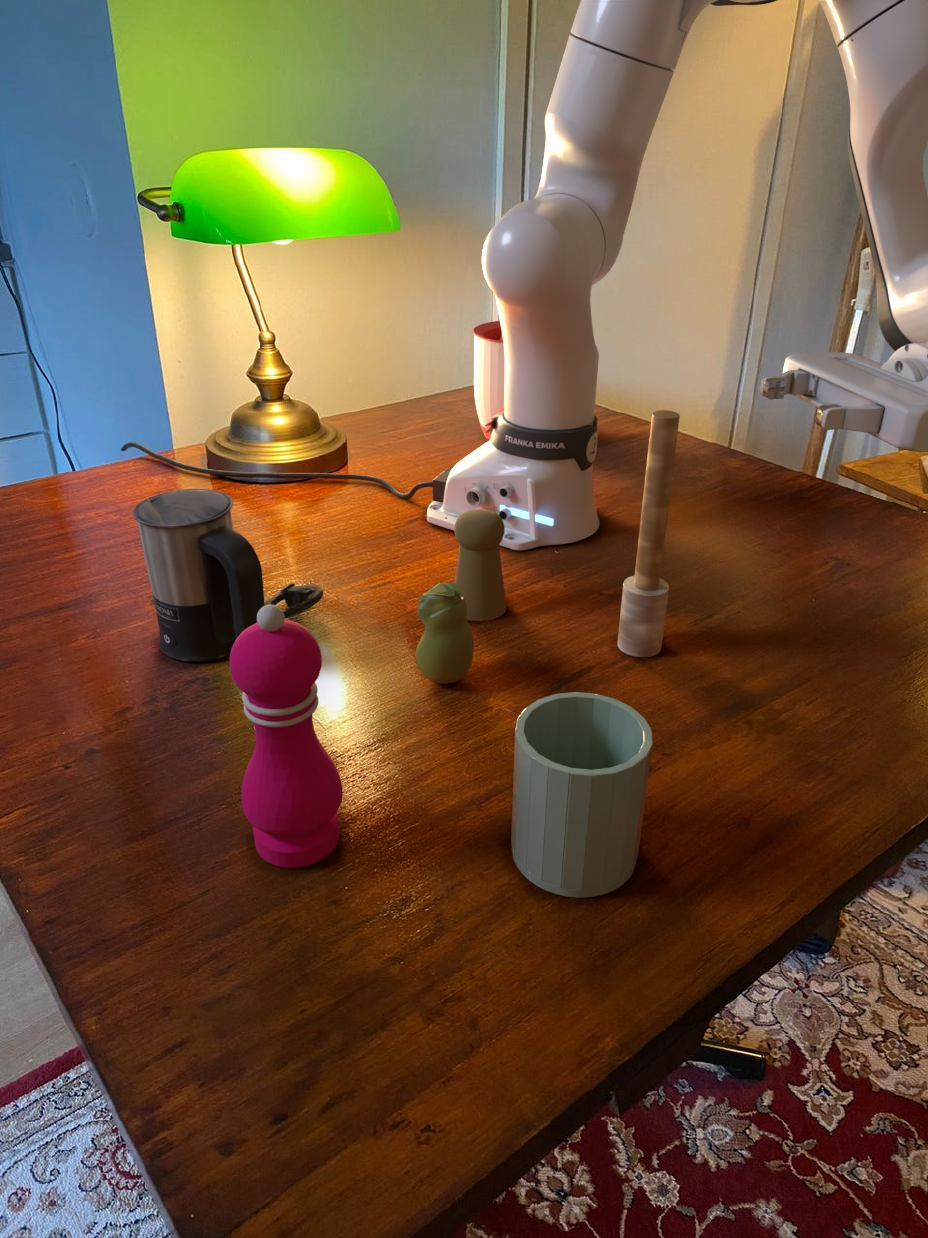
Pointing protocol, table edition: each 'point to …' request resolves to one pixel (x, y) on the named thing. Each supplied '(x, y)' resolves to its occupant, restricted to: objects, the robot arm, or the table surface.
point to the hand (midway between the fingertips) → (791, 402)
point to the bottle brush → (650, 547)
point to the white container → (488, 371)
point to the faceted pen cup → (579, 792)
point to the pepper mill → (285, 743)
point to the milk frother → (204, 574)
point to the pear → (444, 635)
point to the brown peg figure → (480, 564)
